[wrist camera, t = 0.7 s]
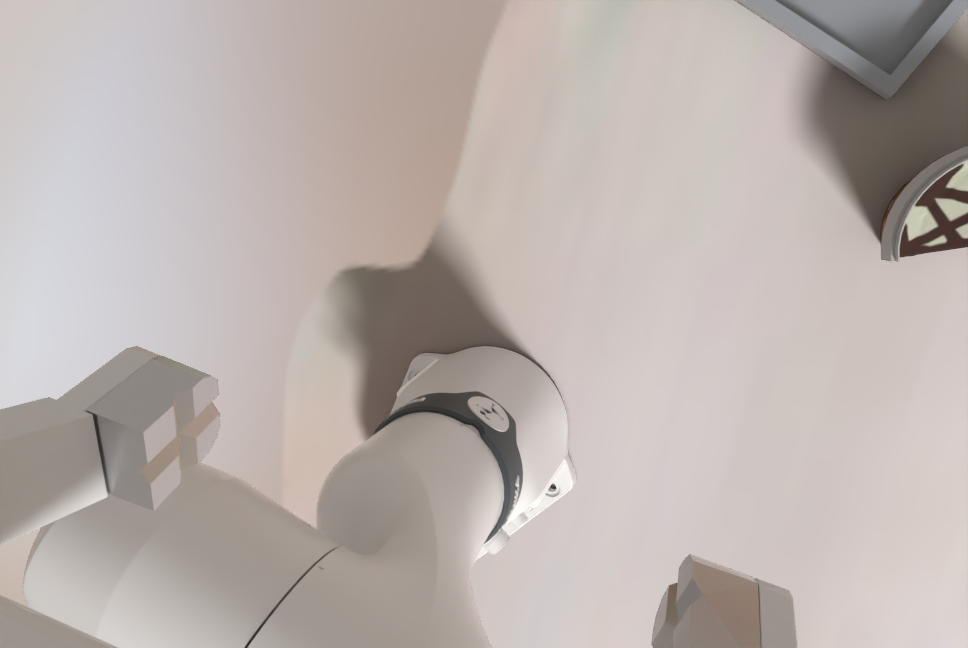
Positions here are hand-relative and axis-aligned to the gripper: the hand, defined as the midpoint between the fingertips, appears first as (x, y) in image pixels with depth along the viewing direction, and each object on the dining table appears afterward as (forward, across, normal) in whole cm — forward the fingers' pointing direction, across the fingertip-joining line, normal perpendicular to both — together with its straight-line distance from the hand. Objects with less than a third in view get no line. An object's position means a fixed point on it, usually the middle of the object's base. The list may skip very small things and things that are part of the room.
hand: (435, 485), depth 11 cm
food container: (+47, +23, -5) cm, 52 cm away
